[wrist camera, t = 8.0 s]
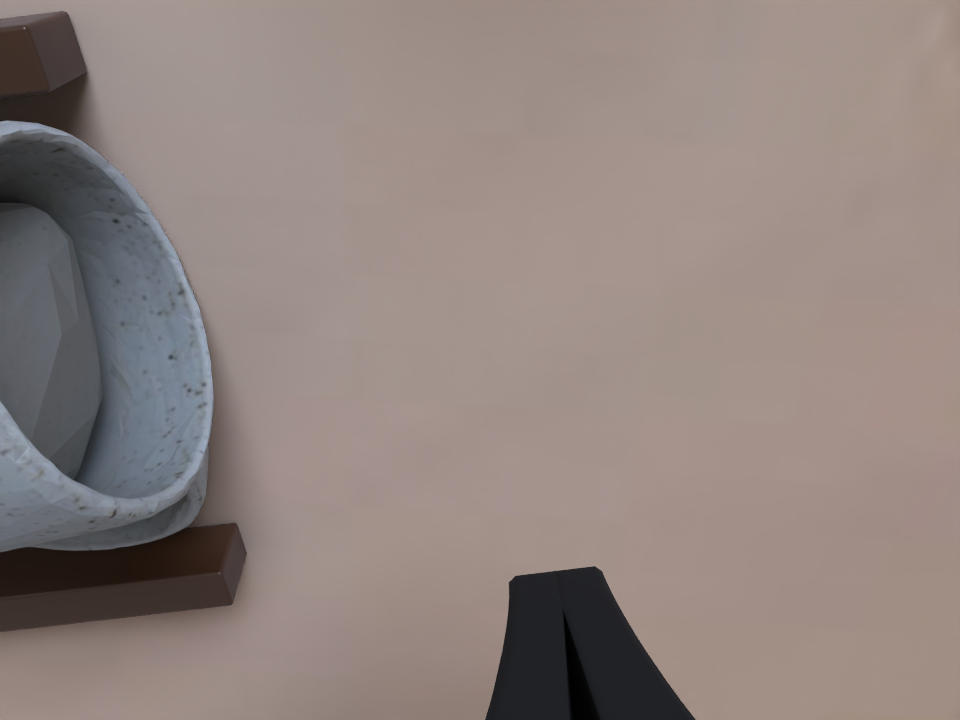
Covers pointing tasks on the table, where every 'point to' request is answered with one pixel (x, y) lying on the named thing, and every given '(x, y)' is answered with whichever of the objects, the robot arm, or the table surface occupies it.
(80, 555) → the frame
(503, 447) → the table surface
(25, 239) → the ceramic mug
